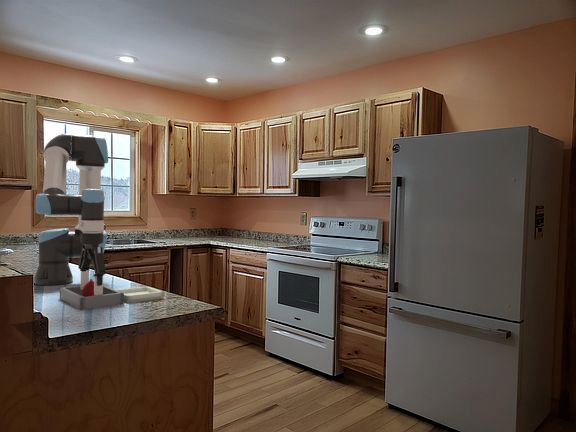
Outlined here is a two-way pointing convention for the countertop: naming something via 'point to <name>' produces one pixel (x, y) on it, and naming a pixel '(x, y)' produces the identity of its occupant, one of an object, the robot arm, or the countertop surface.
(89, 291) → the onion
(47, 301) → the countertop surface
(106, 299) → the bin
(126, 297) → the tray
